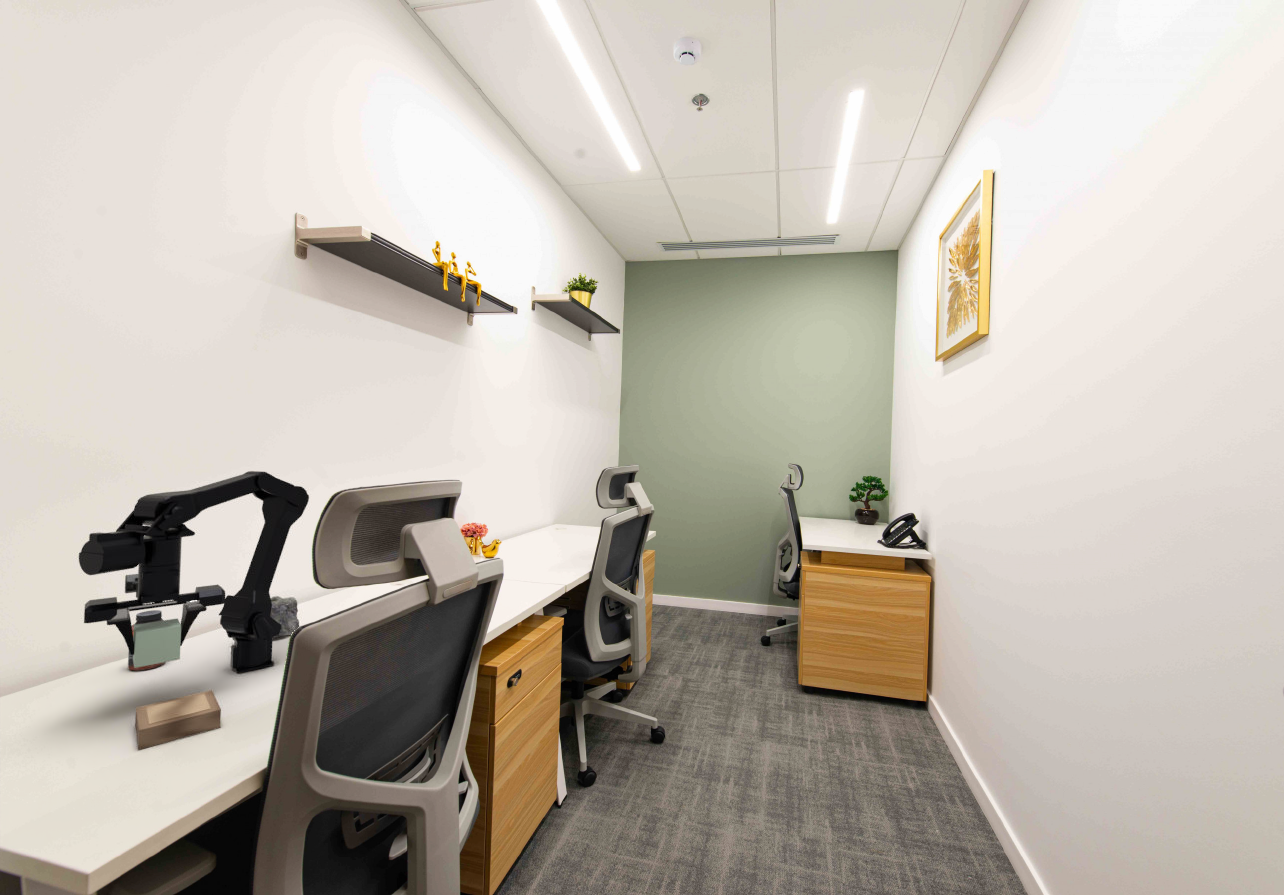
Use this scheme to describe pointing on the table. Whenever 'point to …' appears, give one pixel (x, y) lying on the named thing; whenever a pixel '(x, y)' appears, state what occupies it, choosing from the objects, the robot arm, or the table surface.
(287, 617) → the mineral rock
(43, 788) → the table surface
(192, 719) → the walnut base
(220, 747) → the table surface
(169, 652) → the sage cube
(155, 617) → the supplement bottle
